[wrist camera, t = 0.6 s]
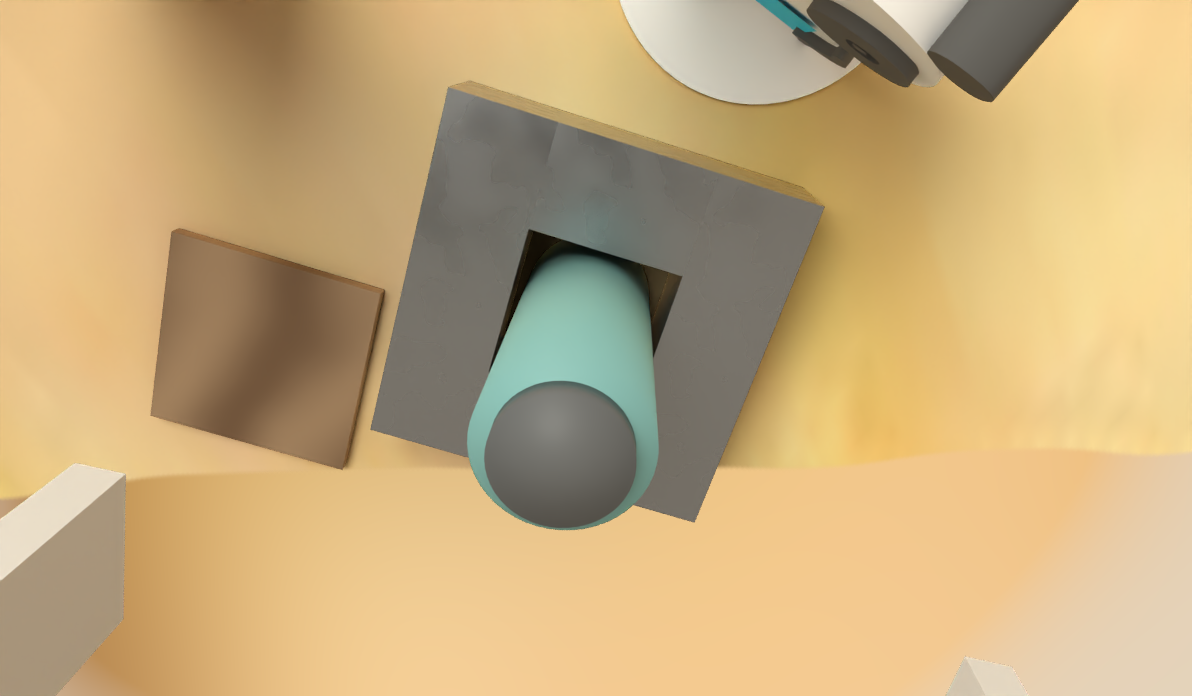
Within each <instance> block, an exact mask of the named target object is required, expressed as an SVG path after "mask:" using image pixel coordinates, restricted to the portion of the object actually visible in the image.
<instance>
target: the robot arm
mask: <svg viewBox="0 0 1192 696" xmlns="http://www.w3.org/2000/svg"><path fill="white" fill-rule="evenodd" d="M125 487H126V474H124V473H119V472H115V471H110V470H106V469H101V468H96V467H92V466H87V465H83V464H78V463H74V464H73V465H71V466H70V467H69V468H67V469H66V470H65V471H63V472H62V473H61V474H59V475H58V476H57V477H55V478H54V479H53V480H51V481H50V482H49V483H47V484H46V485H45V486H44V487H42V488H41V489H40V490H38V491H37V492H36V493H34V494H33V495H32V496H30V497H29V498H28V499H26V500H25V501H24V502H22V503H21V504H20V505H18V506H17V507H16V508H15V509H13V510H12V511H11V512H9V513H8V514H7V515H5V516H4V517H3V518H1V519H0V696H56V695H57V694H58V693H59V691H60V690H61V689H62V688H63V687H64V686H65V685H66V683H67V682H68V681H69V680H70V679H71V678H72V677H73V676H74V674H75V673H76V672H77V671H78V670H79V669H80V668H81V666H82V665H83V664H84V663H85V662H86V661H87V660H88V658H89V657H90V656H91V655H92V654H93V653H94V652H95V651H96V649H97V648H98V647H99V646H100V645H101V644H102V643H103V642H104V640H105V639H106V638H107V637H108V636H109V634H111V632H112V631H113V630H114V629H115V628H116V627H117V626H118V625H119V623H120V622H121V621H122V620H123V613H124V612H123V610H124V609H123V608H124V548H125V547H124V546H125ZM946 696H1029V694H1028V693H1027V691H1026V689H1025V688H1024V686H1023V685H1022V683H1021V681H1020V679H1019V678H1018V676H1017V674H1016V673H1015V671H1014V669H1013V667H1011V666H1007V665H1003V664H997V663H993V662H988V661H984V660H979V659H975V658H970V657H964V659H963V661H962V663H961V665H960V667H959V669H958V671H957V673H956V675H955V678H954V679H953V682H952V683H951V685H950V687H949V689H948V692H947V694H946Z"/></svg>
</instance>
